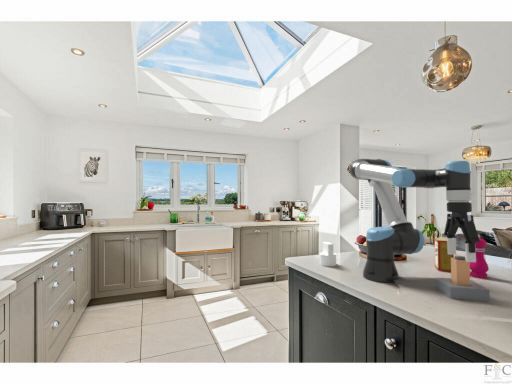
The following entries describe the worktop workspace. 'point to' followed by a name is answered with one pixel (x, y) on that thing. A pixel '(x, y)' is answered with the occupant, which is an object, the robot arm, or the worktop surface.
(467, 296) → the grey square socket block
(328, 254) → the cylinder with rectangular tab
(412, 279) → the worktop surface
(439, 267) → the baking soda box
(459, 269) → the plug
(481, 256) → the pepper mill
